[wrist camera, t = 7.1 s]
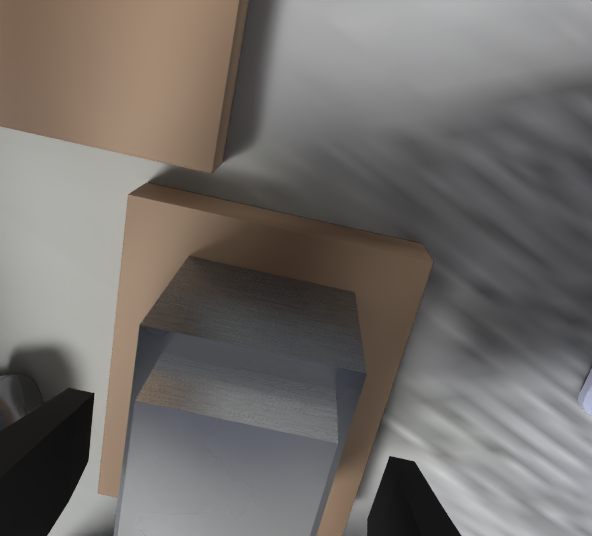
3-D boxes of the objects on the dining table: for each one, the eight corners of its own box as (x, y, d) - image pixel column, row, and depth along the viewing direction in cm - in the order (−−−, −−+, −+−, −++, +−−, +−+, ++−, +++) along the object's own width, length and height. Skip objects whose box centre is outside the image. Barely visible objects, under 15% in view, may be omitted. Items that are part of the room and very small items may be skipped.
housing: (355, 292, 14) (374, 425, 9) (298, 491, 17) (287, 688, 11) (188, 255, 14) (108, 369, 9) (156, 462, 16) (79, 648, 11)
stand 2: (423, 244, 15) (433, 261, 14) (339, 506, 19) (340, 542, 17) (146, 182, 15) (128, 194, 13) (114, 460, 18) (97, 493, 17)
